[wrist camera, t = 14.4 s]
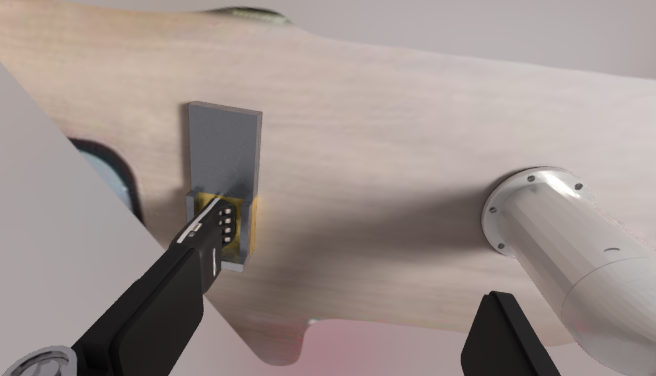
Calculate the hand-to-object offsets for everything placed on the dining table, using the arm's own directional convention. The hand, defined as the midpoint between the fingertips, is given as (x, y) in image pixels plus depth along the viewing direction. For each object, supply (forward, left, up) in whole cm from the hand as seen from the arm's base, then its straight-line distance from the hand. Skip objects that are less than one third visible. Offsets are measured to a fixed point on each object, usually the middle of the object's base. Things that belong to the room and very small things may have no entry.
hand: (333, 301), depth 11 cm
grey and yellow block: (+15, +12, -30) cm, 35 cm away
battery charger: (+14, +16, -28) cm, 35 cm away
